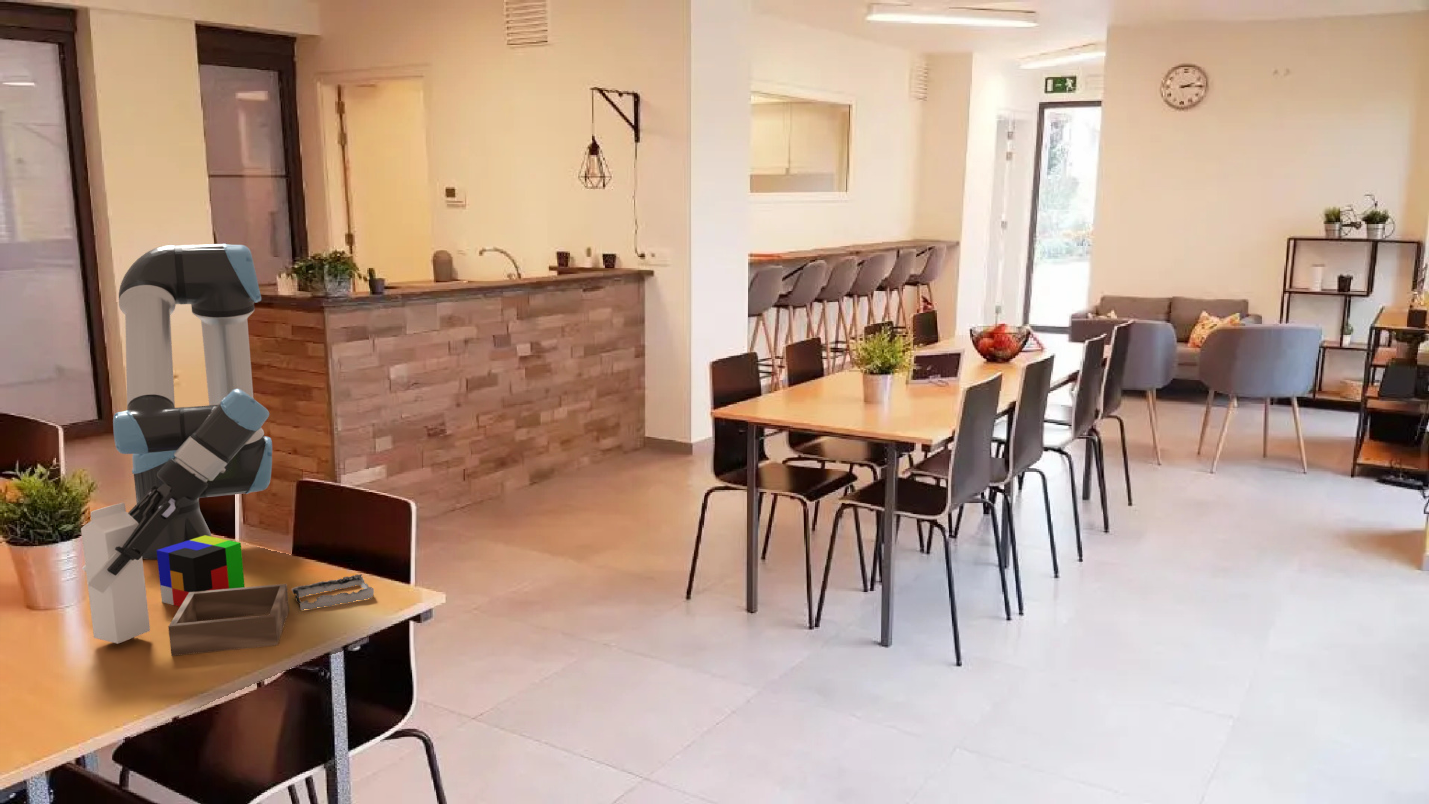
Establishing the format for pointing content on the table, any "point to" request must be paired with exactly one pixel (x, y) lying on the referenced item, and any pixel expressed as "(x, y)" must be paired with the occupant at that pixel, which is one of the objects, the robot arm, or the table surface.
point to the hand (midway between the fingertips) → (92, 580)
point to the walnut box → (231, 631)
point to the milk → (125, 598)
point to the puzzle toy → (199, 567)
